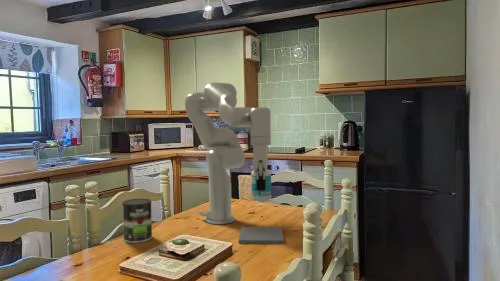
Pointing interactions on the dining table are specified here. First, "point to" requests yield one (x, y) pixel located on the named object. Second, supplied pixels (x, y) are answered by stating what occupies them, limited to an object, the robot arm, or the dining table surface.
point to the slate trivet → (261, 235)
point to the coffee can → (137, 220)
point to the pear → (180, 242)
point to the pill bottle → (261, 194)
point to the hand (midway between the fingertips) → (261, 187)
